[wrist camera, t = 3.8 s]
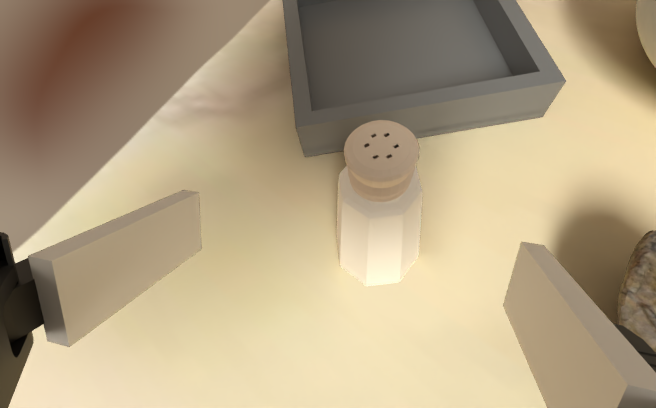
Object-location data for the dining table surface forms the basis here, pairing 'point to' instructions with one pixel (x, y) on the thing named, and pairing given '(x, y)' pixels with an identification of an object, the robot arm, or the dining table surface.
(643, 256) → the fossilized seashell
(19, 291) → the robot arm
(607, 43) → the dining table surface
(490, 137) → the dining table surface
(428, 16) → the parts tray
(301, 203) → the dining table surface
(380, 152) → the salt shaker
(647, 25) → the serving bowl
